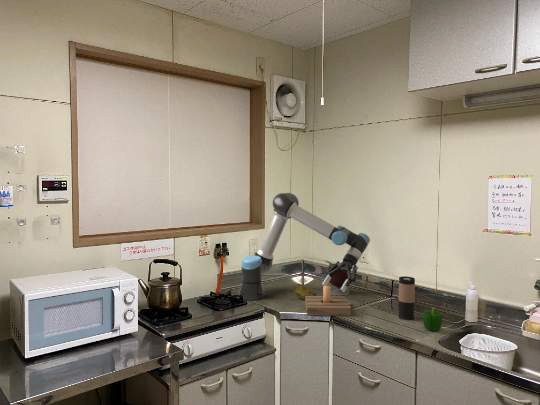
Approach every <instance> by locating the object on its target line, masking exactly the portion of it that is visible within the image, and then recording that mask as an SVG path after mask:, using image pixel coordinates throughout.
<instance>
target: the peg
mask: <svg viewBox="0 0 540 405" xmlns="http://www.w3.org/2000/svg"><path fill="white" fill-rule="evenodd" d="M322 287H323V289H322V296H323V303H331V296H332V294H331V290H332V285H331V286H330V285H327V286H323V285H322Z"/></svg>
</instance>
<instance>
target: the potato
mask: <svg viewBox="0 0 540 405" xmlns="http://www.w3.org/2000/svg"><path fill="white" fill-rule="evenodd" d="M293 291H294V293H295V295H296V296H297V297H299V298H300V299H301V300H304V301H305V296H317V294H316V292H315V291H313V290H312V289H310V288H309V287H307V286H306V285H305V284H296V285H295V286H294V288H293Z"/></svg>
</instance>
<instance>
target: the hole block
mask: <svg viewBox="0 0 540 405" xmlns="http://www.w3.org/2000/svg"><path fill="white" fill-rule="evenodd" d="M304 304H305V309H306V315H307V316H338V315H351V316H352V307H351V305H350V303H349V302H348V299H347V298H346V295H345V296H336V295H331V303H323V295H316V296H305V300H304Z"/></svg>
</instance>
